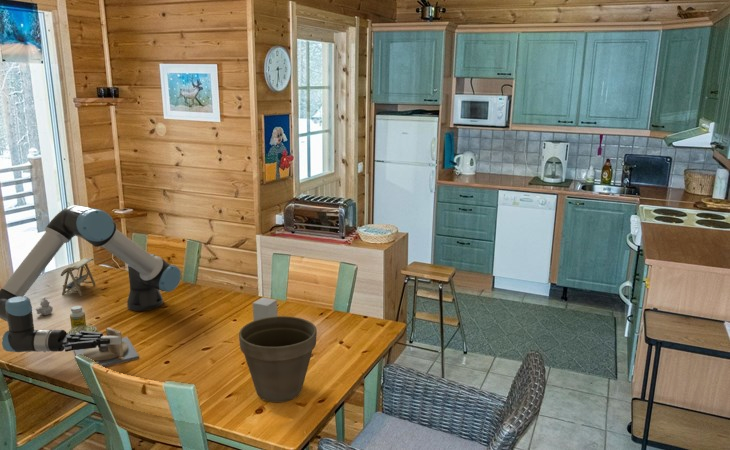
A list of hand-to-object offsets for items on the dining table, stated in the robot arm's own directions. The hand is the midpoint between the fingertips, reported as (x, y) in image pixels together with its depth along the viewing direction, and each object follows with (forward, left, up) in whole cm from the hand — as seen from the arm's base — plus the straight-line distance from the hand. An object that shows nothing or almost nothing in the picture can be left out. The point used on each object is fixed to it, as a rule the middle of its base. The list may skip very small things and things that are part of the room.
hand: (120, 339), depth 201 cm
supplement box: (-55, +1, -9) cm, 56 cm away
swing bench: (+2, -87, -9) cm, 87 cm away
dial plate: (+4, -10, -9) cm, 14 cm away
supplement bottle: (+9, -39, -9) cm, 41 cm away
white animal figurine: (+19, -63, -9) cm, 66 cm away
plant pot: (-39, +47, -9) cm, 62 cm away
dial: (+3, -9, -8) cm, 12 cm away
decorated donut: (+9, -30, -9) cm, 33 cm away
